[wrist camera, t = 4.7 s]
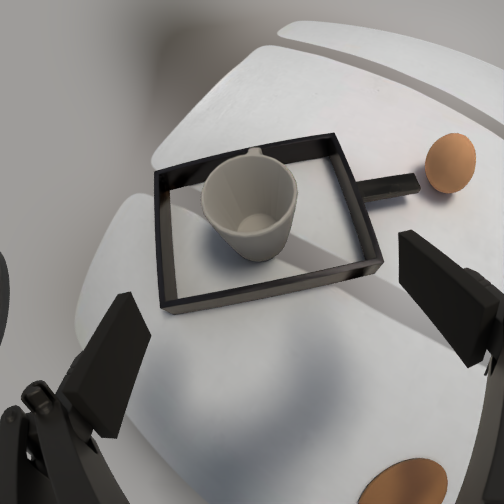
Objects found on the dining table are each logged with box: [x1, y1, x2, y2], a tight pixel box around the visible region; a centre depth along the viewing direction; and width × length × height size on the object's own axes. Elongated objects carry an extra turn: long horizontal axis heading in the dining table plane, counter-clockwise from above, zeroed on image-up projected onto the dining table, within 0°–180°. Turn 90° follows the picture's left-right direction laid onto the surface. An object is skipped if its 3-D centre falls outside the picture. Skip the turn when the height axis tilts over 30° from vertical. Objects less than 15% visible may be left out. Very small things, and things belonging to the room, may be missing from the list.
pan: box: [154, 133, 421, 315], centre depth 30 cm, size 27×15×4 cm, turn 100°
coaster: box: [358, 458, 448, 504], centre depth 19 cm, size 10×10×1 cm
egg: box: [425, 133, 476, 193], centre depth 27 cm, size 6×6×8 cm
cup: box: [201, 147, 298, 262], centre depth 28 cm, size 8×10×8 cm
